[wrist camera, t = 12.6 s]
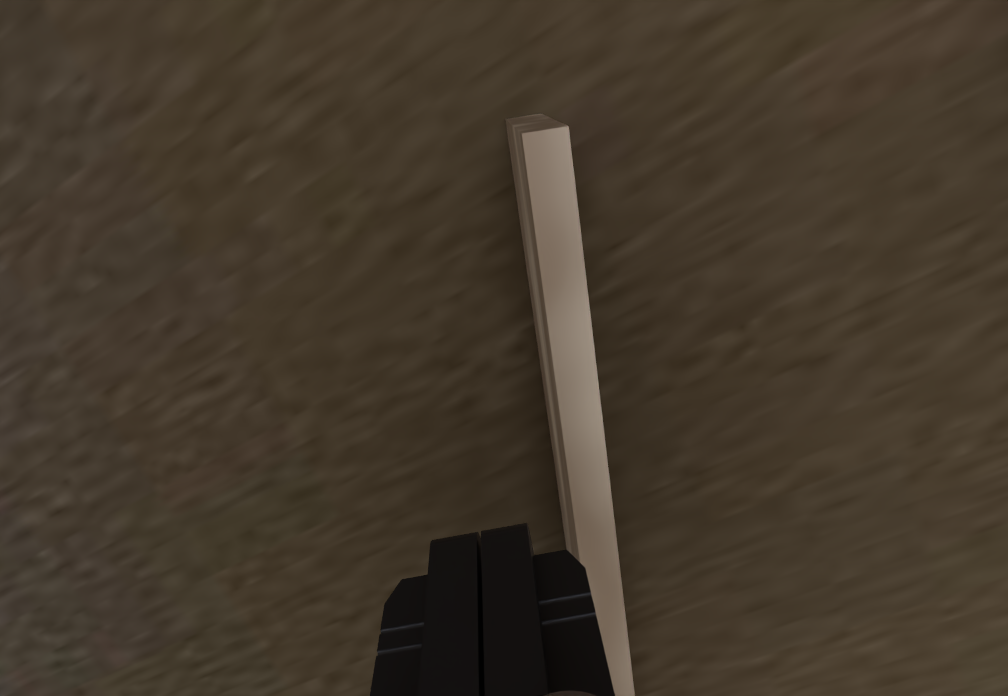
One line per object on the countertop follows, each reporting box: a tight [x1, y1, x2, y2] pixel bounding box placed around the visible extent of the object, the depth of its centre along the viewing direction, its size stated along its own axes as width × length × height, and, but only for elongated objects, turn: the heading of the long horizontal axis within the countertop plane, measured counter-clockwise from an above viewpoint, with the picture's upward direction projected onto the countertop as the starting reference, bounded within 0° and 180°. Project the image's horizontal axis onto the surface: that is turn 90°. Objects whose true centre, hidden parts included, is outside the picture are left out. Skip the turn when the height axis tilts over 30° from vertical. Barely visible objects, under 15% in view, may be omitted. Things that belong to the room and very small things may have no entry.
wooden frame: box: [505, 113, 635, 696], centre depth 33 cm, size 14×36×12 cm, turn 8°
